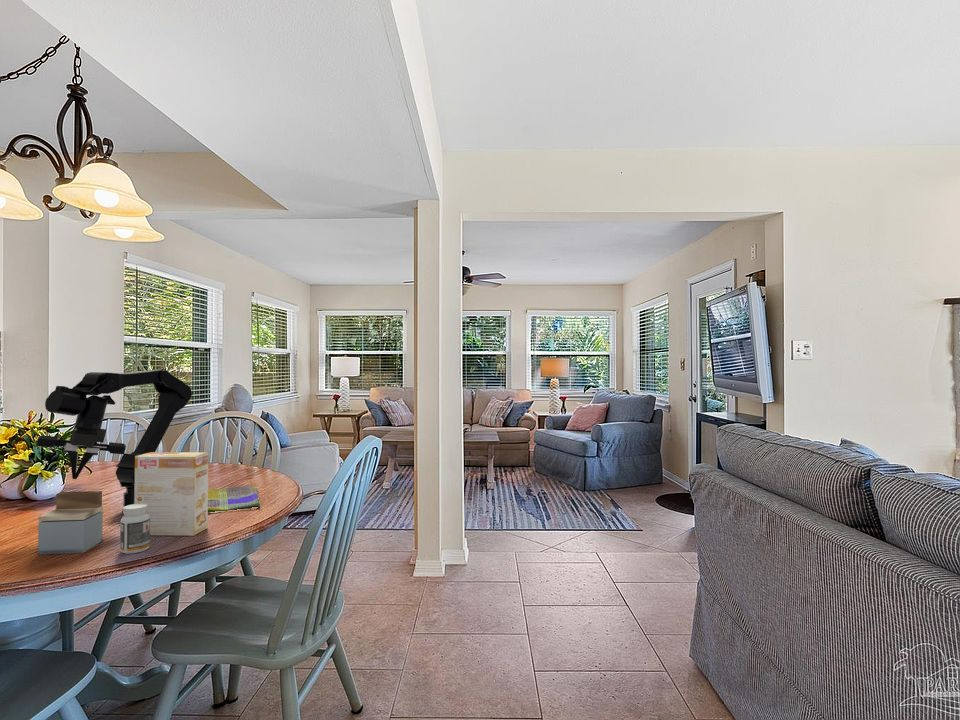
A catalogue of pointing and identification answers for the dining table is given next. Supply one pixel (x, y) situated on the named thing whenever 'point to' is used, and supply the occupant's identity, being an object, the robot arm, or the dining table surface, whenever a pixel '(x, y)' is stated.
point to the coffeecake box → (173, 491)
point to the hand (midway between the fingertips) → (74, 479)
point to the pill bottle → (135, 529)
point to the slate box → (70, 535)
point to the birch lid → (75, 506)
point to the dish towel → (233, 498)
